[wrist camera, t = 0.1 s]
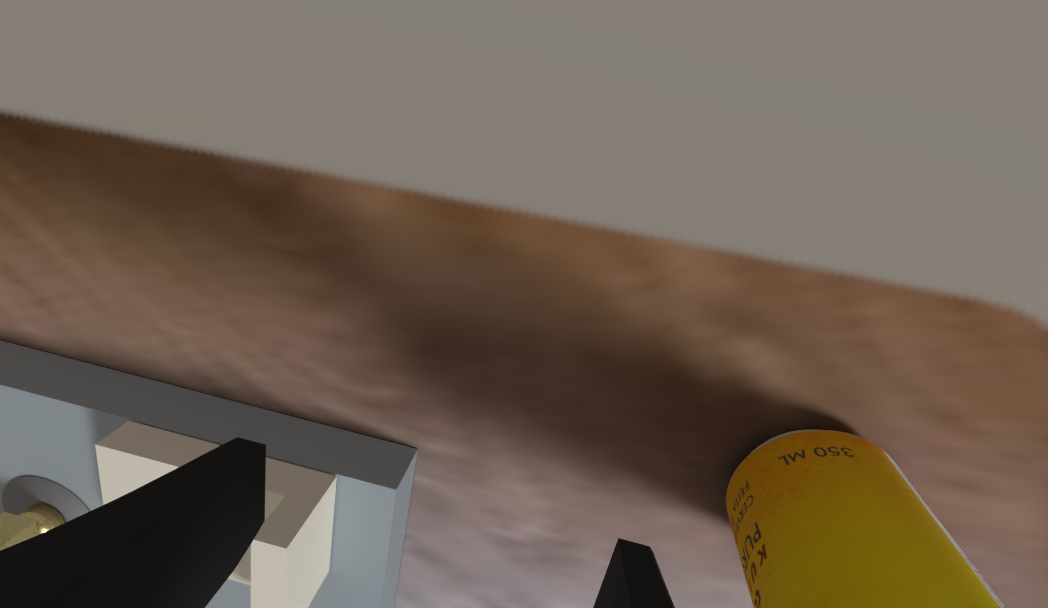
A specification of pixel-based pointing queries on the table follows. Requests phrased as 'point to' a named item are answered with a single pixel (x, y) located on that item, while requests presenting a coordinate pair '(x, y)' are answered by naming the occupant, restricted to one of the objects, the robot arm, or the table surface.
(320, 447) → the grey flat rectangular board
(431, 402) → the table surface
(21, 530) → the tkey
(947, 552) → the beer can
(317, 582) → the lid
